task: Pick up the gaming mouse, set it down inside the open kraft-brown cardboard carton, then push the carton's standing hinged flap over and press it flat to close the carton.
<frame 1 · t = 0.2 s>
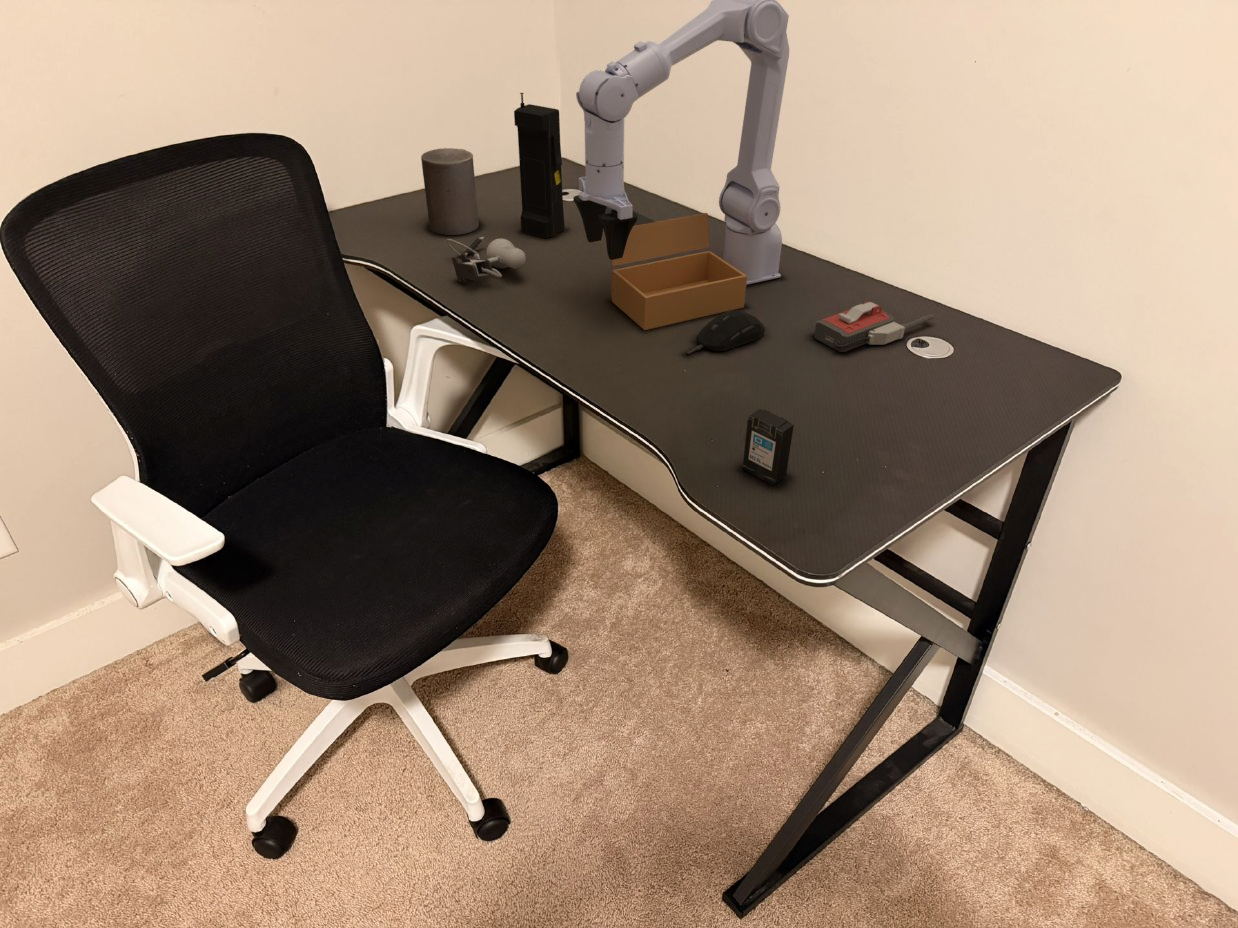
hand: (604, 249, 135), 10 cm above the table, tool pointing down, fingers open, 7 cm apart
flap: (660, 239, 142), point 9 cm above the table, hinge at 105.0°
portable radio: (545, 232, 168), on the table
clip-on lamp: (483, 270, 153), on the table
phone: (623, 222, 172), on the table
carton: (677, 304, 142), on the table
pillar candle: (454, 227, 169), on the table
walkie-talkie: (870, 334, 135), on the table
gaming mouse: (723, 341, 132), on the table
ink cartridge: (763, 475, 105), on the table
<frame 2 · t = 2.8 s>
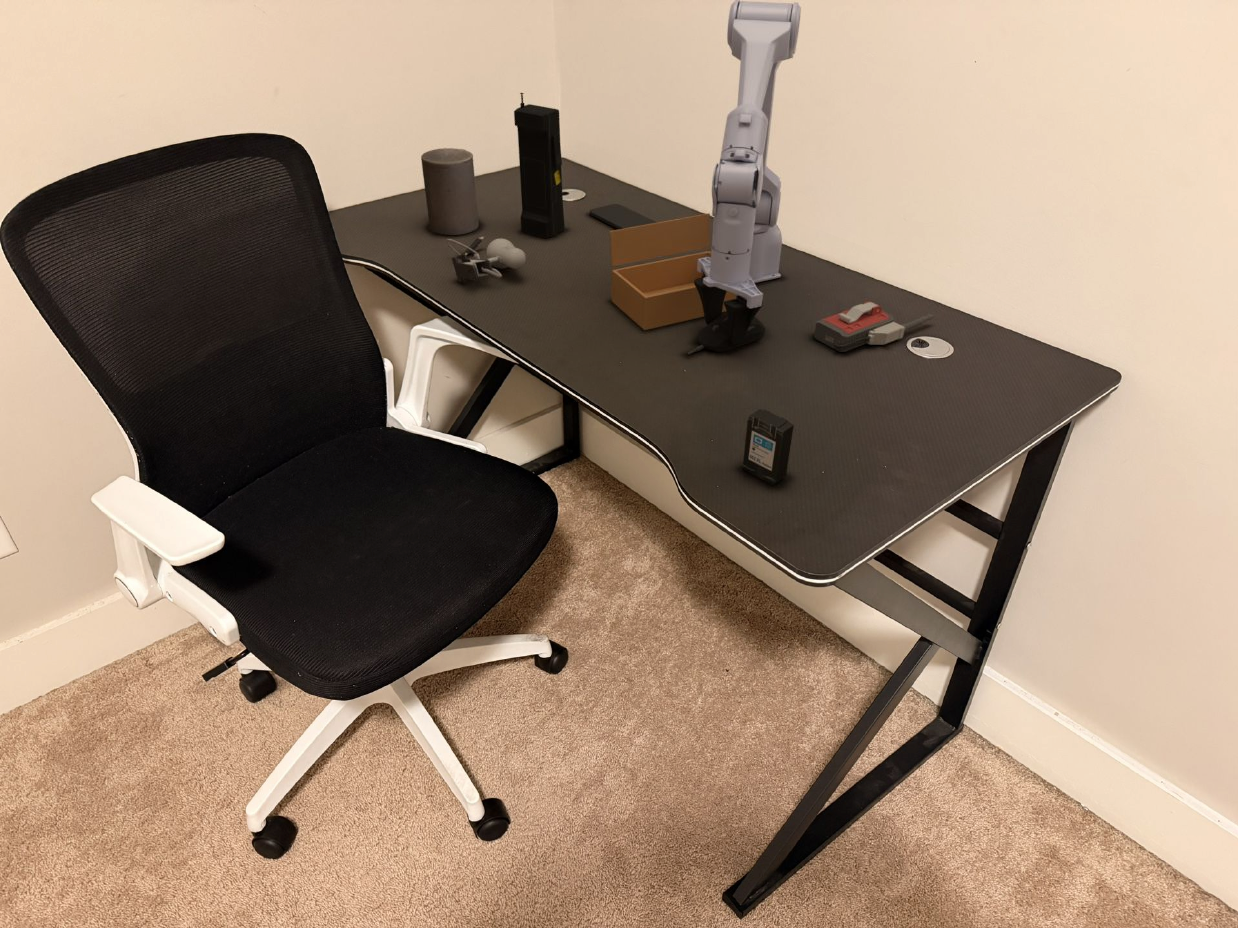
hand: (724, 332, 131), 1 cm above the table, tool pointing down, fingers closed on gaming mouse, 6 cm apart
flap: (661, 239, 141), point 9 cm above the table, hinge at 97.9°
gaming mouse: (723, 342, 132), on the table, touching gripper
everything else where it was.
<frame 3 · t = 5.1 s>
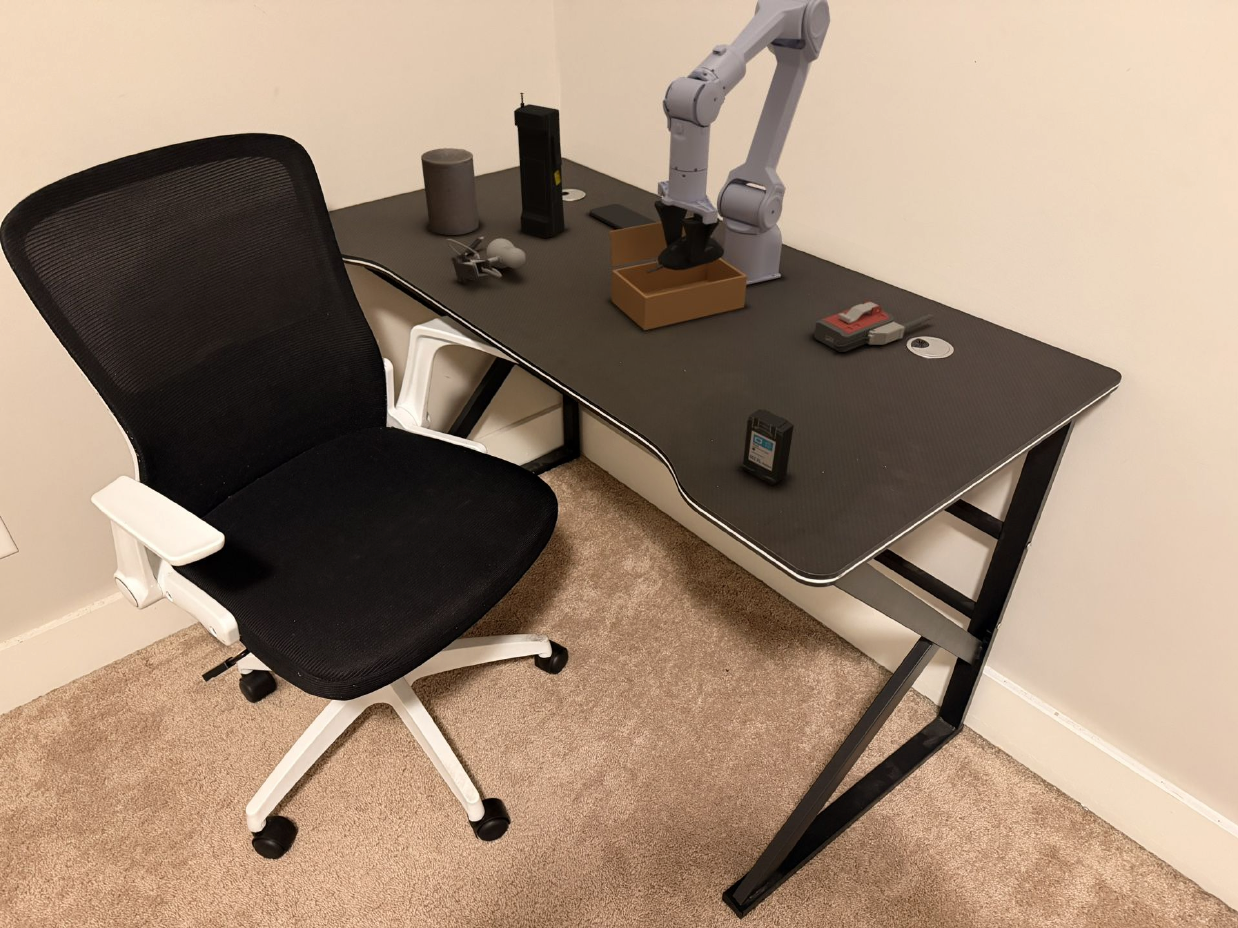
hand: (683, 253, 136), 9 cm above the table, tool pointing down, fingers closed on gaming mouse, 6 cm apart
gaming mouse: (683, 263, 137), point 8 cm above the table, touching gripper
everything else where it was.
when the fingers open (2 cm above the table, at t = 7.7 s): gaming mouse stays where it is, resting on carton.
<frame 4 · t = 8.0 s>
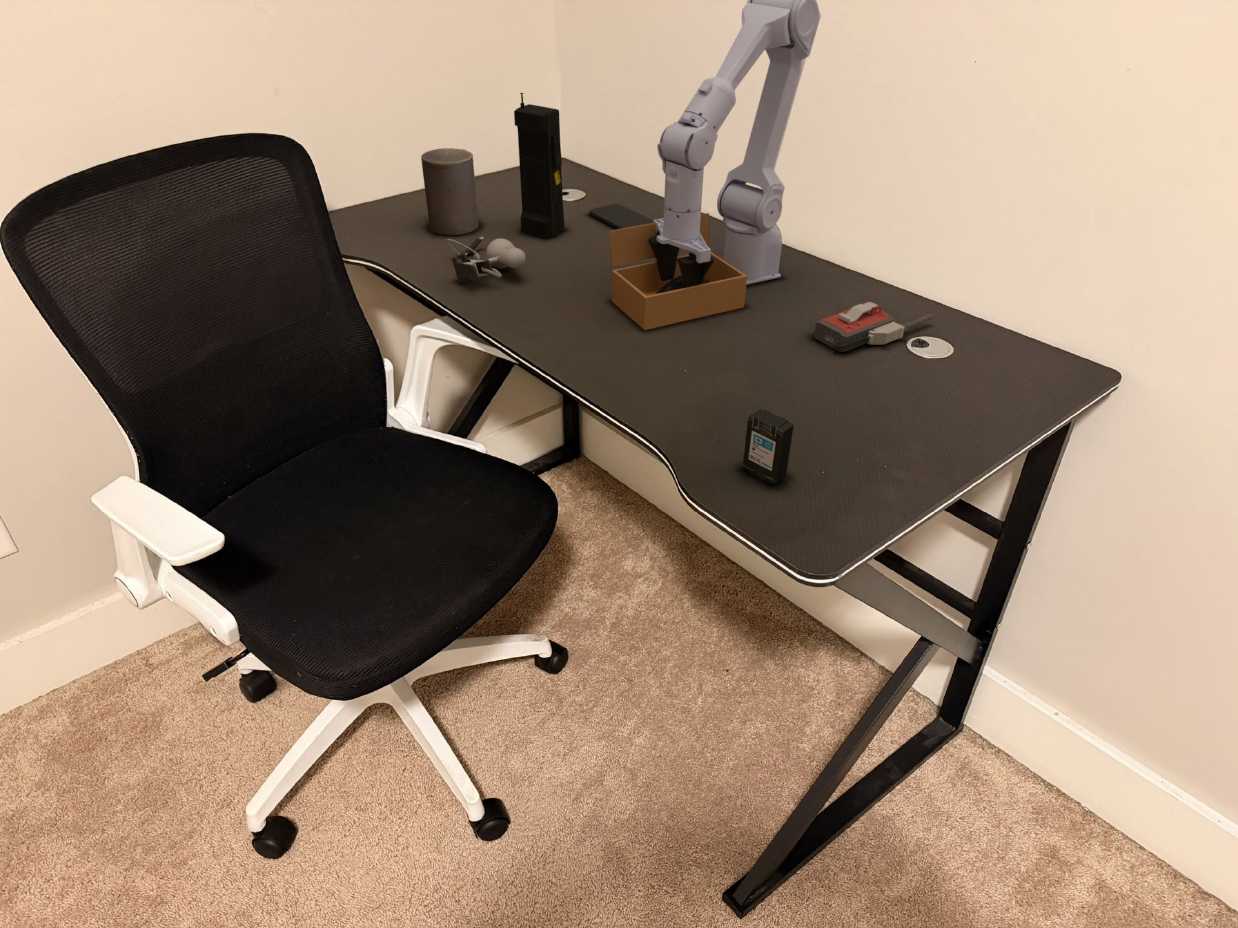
hand: (678, 288, 141), 3 cm above the table, tool pointing down, fingers open, 7 cm apart
flap: (661, 239, 142), point 9 cm above the table, hinge at 100.1°
gaming mouse: (678, 303, 142), resting on carton
everything else where it was.
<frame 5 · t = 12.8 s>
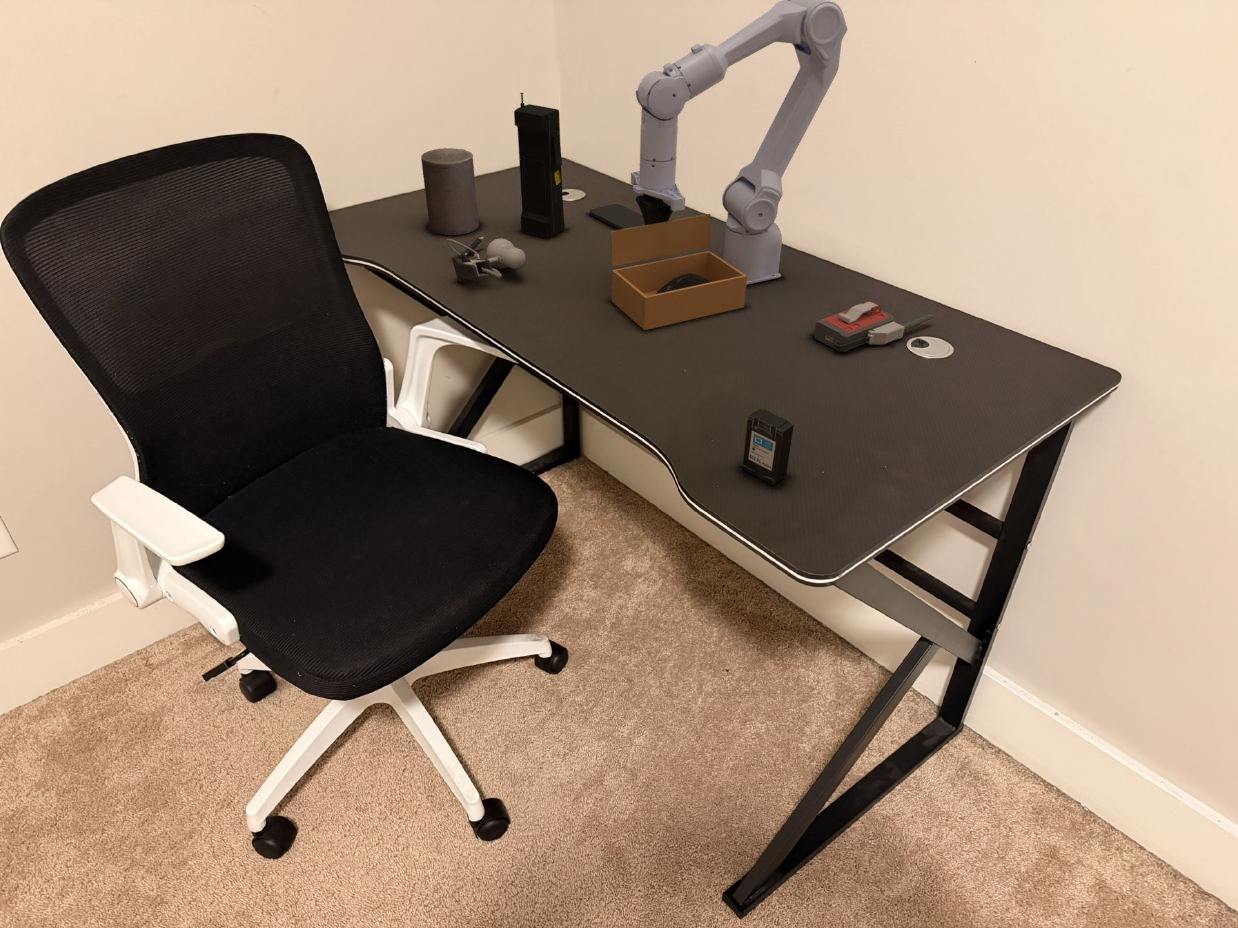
hand: (655, 240, 143), 8 cm above the table, tool pointing down, fingers closed
flap: (661, 239, 141), point 9 cm above the table, hinge at 95.5°, touching gripper
everything else where it was.
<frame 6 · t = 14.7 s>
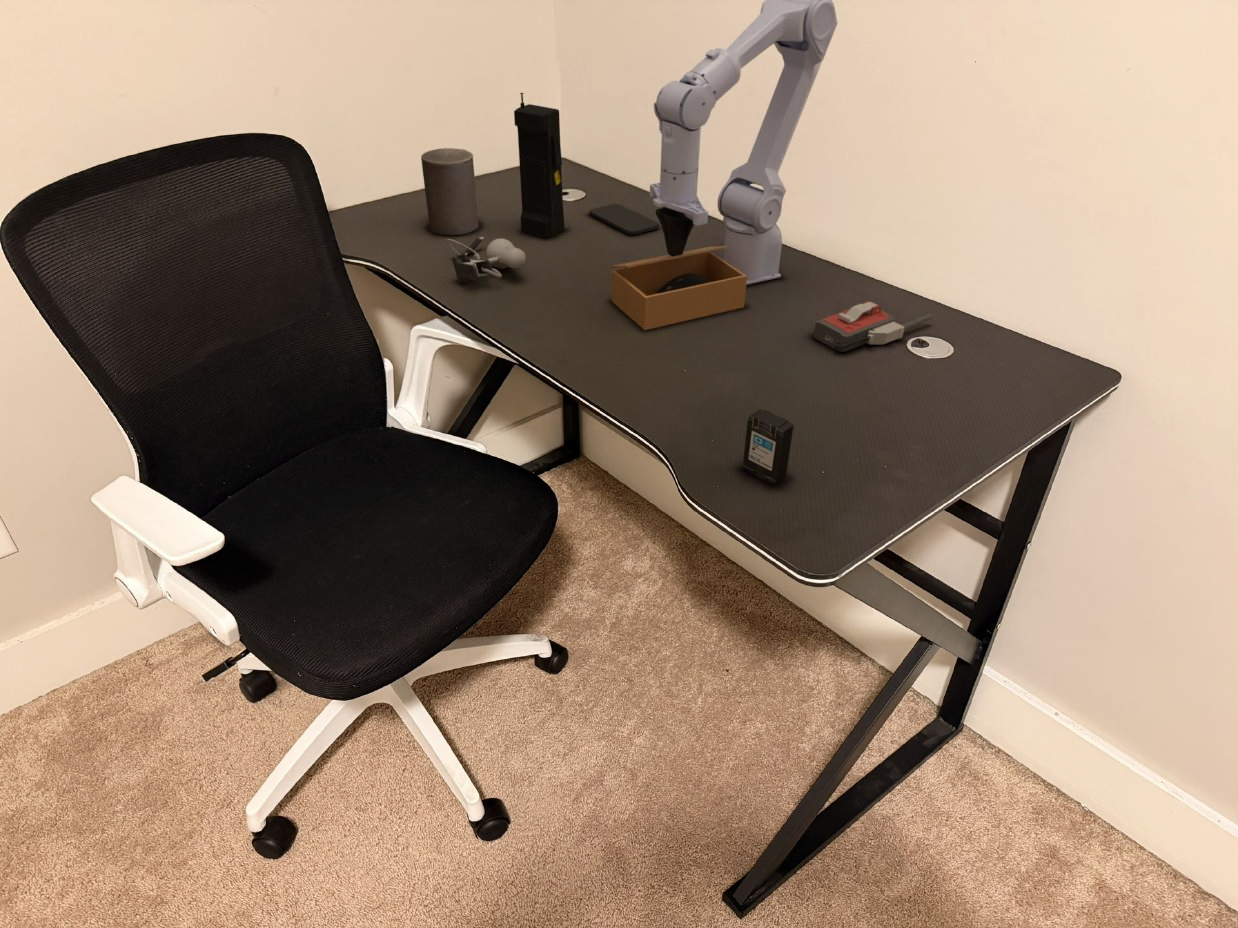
hand: (675, 254, 139), 8 cm above the table, tool pointing down, fingers closed
flap: (670, 256, 140), point 7 cm above the table, hinge at 21.2°, touching gripper
everything else where it was.
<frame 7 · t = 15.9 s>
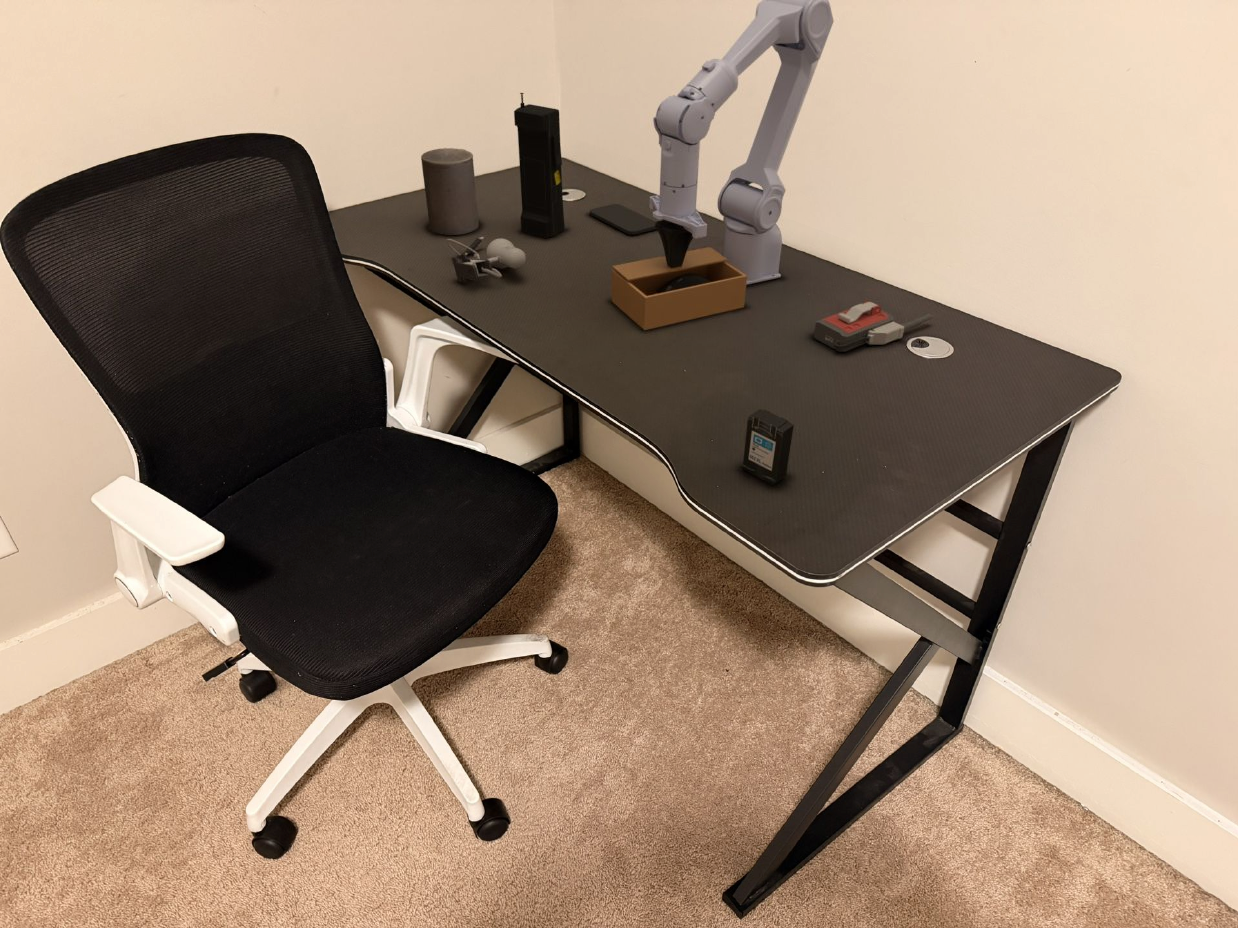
hand: (674, 266, 140), 6 cm above the table, tool pointing down, fingers closed, pressing on flap
flap: (670, 263, 141), point 6 cm above the table, hinge at -0.7°, touching gripper
everything else where it was.
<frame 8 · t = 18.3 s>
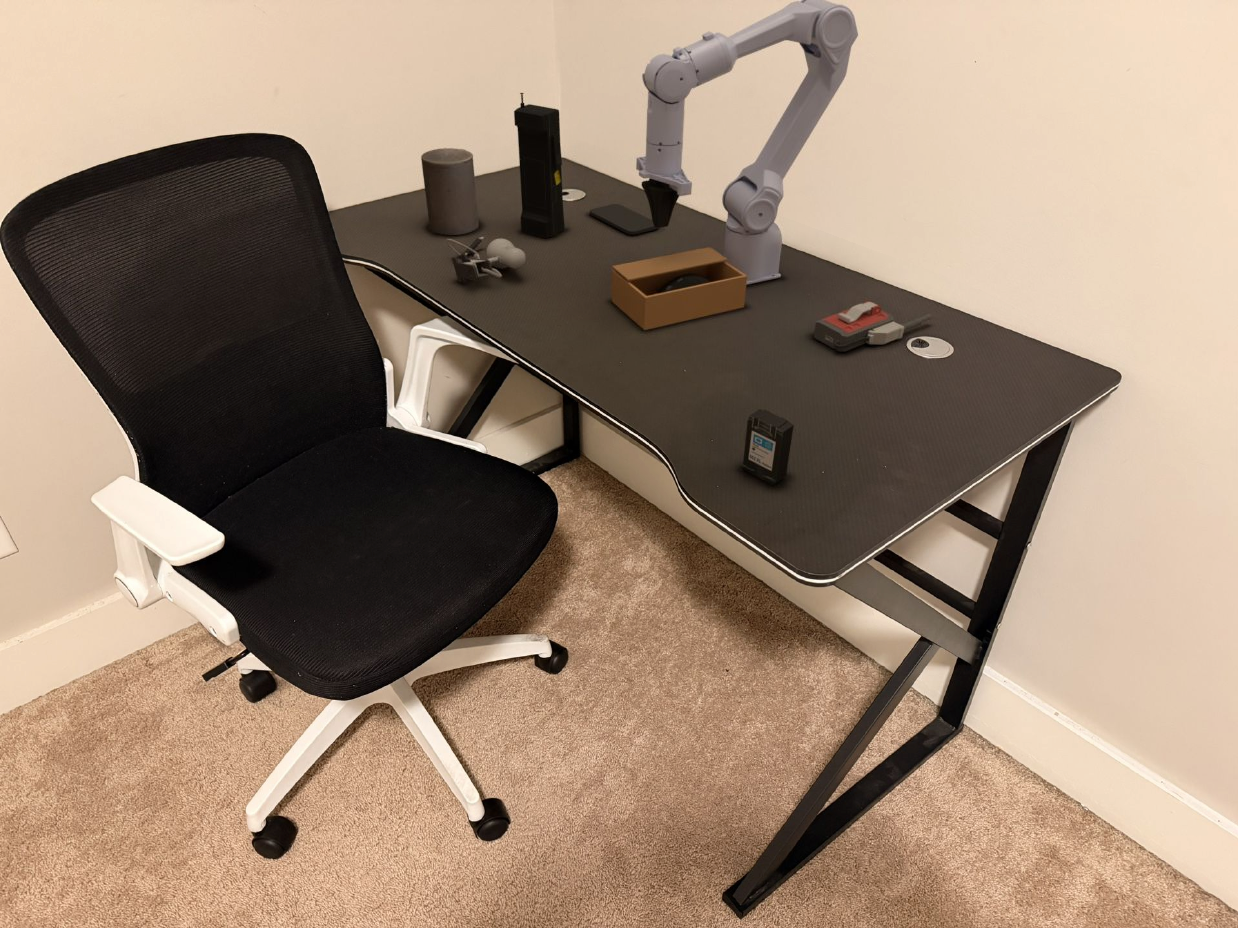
hand: (660, 226, 142), 10 cm above the table, tool pointing down, fingers closed
flap: (670, 263, 141), point 6 cm above the table, hinge at -0.7°
everything else where it was.
at the end: gaming mouse inside the target area in the carton (0.2 cm from its centre), point 0.3 cm above the carton's base; flap at -1° (first picture: +105°) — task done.
